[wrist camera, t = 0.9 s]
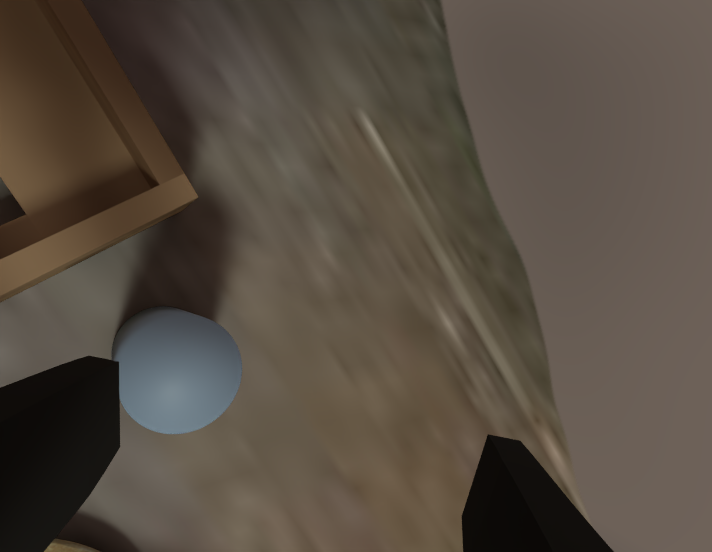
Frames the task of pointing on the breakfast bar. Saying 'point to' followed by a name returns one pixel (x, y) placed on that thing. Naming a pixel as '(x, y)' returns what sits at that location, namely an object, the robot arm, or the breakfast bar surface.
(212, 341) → the peg
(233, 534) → the breakfast bar surface
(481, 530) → the robot arm
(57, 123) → the box with square hole
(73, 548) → the toy sandwich meal
